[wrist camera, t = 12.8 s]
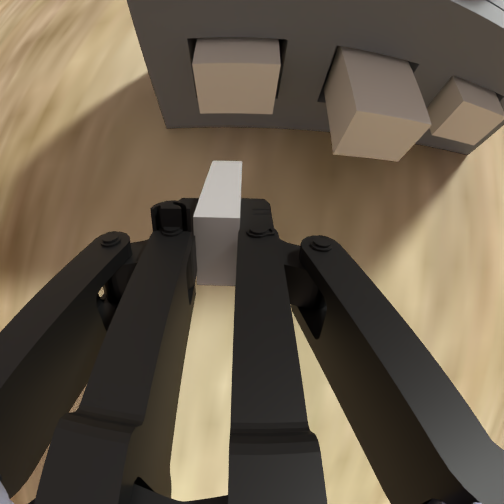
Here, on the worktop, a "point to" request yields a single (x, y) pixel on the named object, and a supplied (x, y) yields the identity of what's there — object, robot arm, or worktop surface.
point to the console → (321, 51)
